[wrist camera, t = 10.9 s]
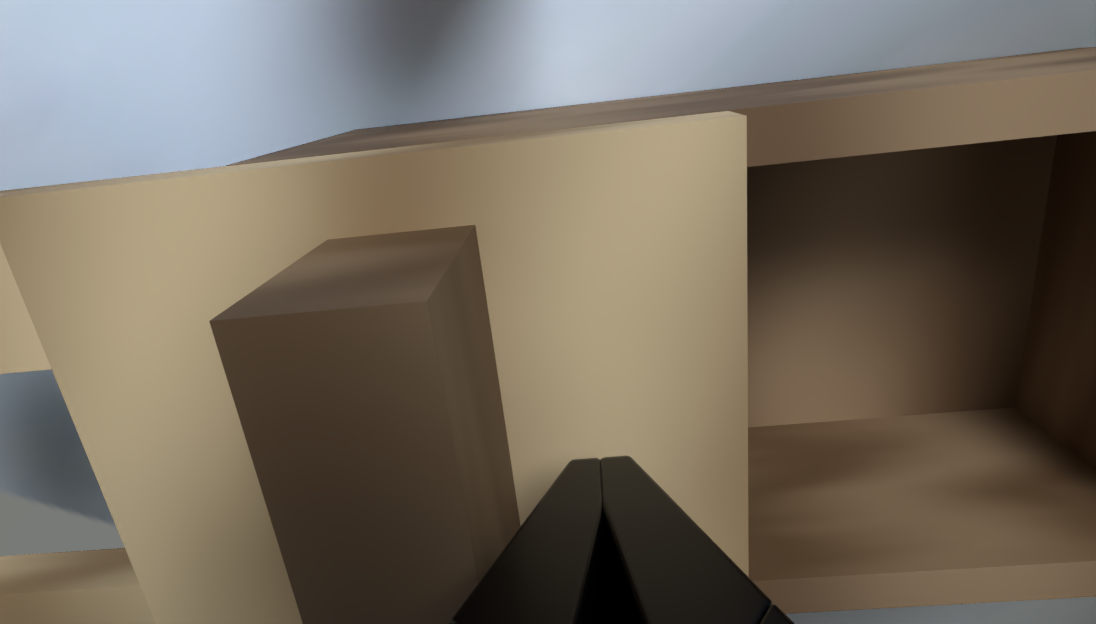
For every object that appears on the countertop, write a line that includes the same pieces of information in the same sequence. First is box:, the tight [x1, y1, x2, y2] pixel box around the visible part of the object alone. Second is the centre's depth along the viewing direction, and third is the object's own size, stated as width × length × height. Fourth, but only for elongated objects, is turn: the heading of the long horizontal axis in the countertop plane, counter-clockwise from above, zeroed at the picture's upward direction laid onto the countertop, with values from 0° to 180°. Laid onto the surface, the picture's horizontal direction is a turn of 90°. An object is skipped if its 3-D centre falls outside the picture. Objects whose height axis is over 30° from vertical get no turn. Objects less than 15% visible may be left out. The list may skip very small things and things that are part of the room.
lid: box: [0, 111, 749, 624], centre depth 9 cm, size 16×9×4 cm, turn 96°
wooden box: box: [227, 47, 1096, 614], centre depth 13 cm, size 16×9×6 cm, turn 96°
